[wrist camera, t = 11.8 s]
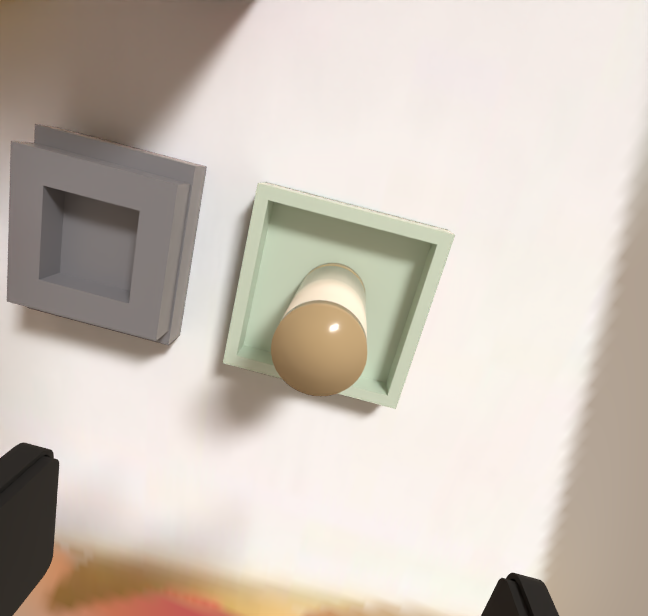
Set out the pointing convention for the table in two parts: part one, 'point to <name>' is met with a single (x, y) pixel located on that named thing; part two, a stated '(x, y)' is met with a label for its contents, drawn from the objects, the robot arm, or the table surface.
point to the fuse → (323, 332)
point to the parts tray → (348, 249)
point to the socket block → (102, 232)
